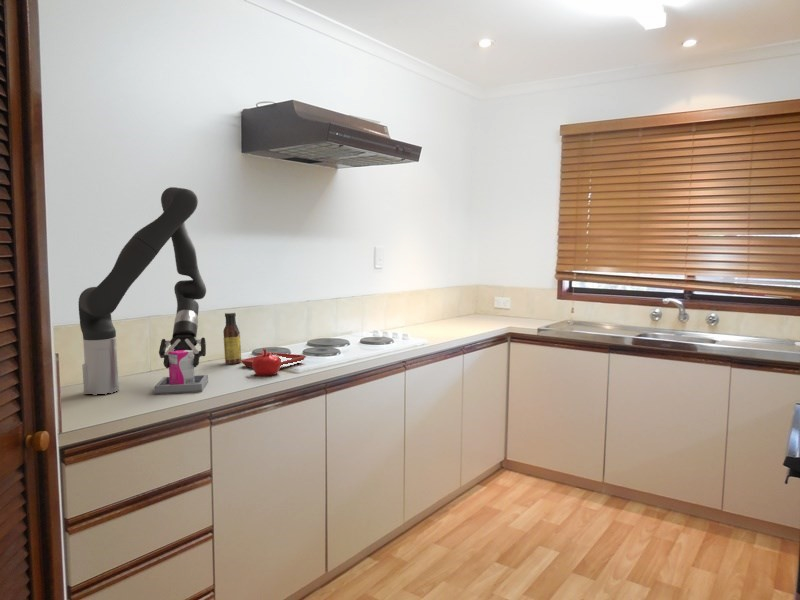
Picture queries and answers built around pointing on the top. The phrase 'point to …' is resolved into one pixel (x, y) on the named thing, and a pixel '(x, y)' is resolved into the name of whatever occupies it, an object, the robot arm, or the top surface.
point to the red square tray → (294, 357)
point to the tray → (181, 385)
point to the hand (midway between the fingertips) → (180, 366)
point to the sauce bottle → (231, 340)
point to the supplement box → (181, 367)
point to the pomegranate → (266, 364)
